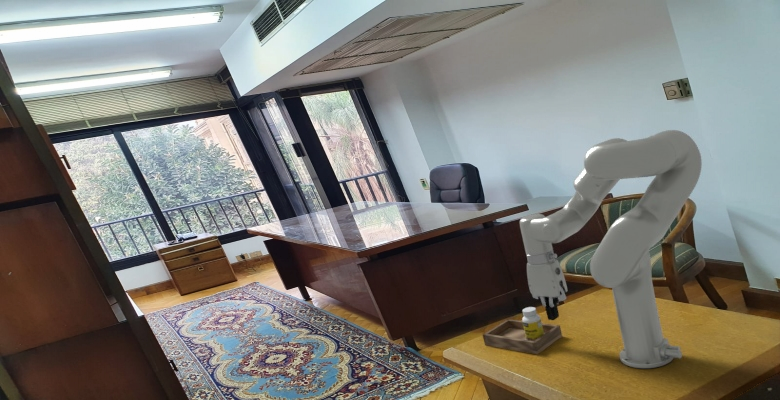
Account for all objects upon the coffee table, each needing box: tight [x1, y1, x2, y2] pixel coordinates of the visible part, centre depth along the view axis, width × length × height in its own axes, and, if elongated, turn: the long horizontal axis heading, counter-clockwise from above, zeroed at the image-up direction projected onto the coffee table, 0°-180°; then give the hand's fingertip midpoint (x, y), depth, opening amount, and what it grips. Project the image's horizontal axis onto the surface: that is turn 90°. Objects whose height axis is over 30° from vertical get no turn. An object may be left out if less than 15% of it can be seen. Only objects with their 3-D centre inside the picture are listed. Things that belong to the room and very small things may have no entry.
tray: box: [482, 318, 563, 355], centre depth 165 cm, size 20×13×4 cm, turn 40°
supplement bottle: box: [521, 306, 544, 341], centre depth 160 cm, size 5×5×10 cm
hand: (553, 318), depth 153 cm, fingers closed
